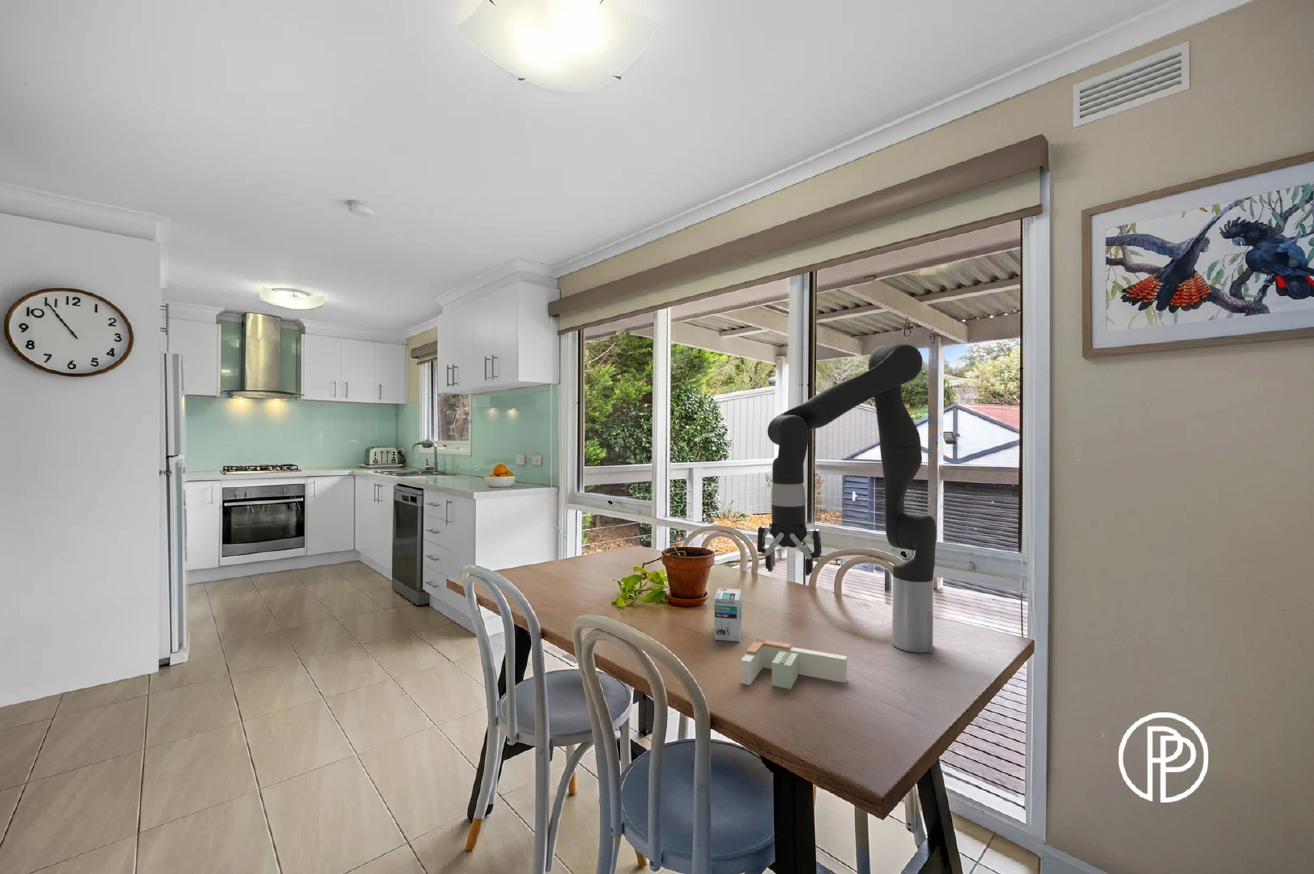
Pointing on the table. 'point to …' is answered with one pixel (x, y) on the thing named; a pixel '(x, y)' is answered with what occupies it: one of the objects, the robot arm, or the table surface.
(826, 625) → the table surface
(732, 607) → the light bulb box
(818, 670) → the corner wall
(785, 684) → the block
